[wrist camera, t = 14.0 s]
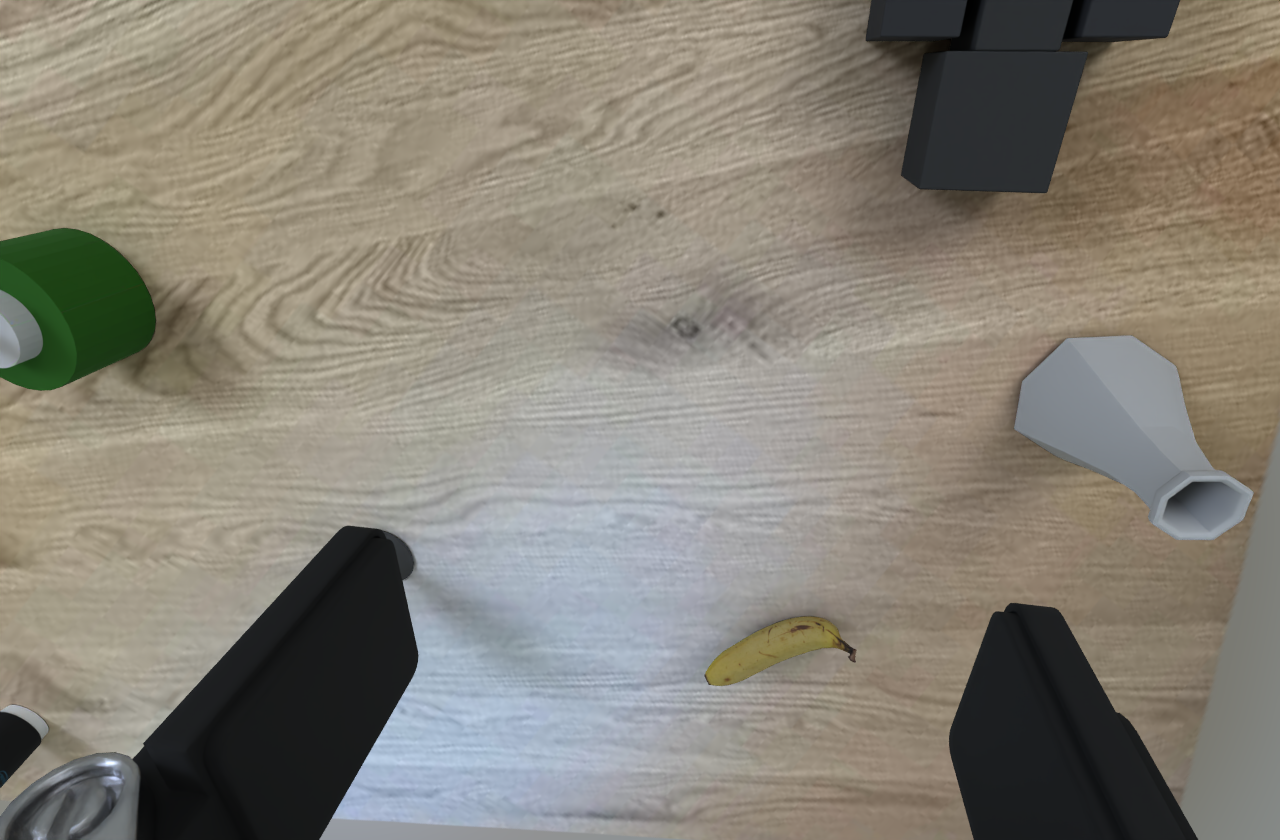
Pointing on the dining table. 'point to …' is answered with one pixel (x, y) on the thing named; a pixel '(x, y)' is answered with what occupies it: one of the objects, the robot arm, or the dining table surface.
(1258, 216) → the dining table surface
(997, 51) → the pad
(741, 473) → the dining table surface
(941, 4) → the notch pad
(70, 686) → the dining table surface
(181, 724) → the robot arm
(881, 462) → the dining table surface
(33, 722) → the dixie cup
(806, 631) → the banana
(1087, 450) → the flask
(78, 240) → the candle
